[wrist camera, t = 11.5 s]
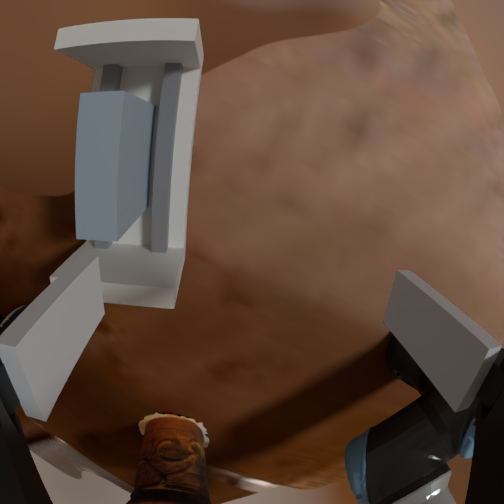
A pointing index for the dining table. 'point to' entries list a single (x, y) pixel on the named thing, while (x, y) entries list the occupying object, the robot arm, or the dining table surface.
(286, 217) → the dining table surface
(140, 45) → the door track
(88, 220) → the sliding door panel
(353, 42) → the dining table surface
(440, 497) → the robot arm
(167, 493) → the vessel
